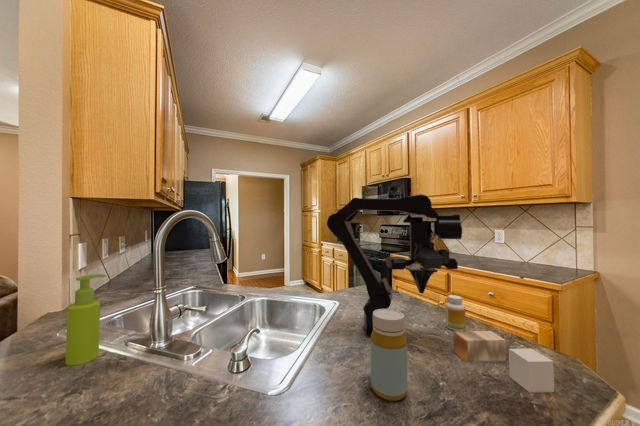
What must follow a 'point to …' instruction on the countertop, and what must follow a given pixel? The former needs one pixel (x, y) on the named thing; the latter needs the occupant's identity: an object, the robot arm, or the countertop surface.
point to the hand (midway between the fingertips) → (421, 293)
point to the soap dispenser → (83, 324)
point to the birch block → (479, 346)
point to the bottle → (389, 355)
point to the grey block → (531, 370)
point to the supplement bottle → (455, 313)
